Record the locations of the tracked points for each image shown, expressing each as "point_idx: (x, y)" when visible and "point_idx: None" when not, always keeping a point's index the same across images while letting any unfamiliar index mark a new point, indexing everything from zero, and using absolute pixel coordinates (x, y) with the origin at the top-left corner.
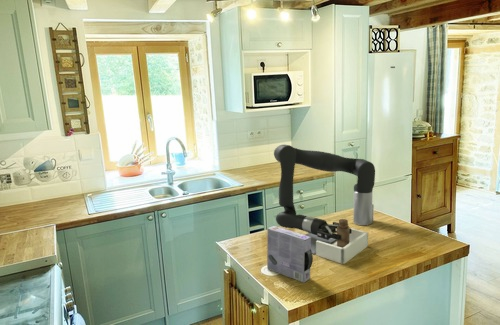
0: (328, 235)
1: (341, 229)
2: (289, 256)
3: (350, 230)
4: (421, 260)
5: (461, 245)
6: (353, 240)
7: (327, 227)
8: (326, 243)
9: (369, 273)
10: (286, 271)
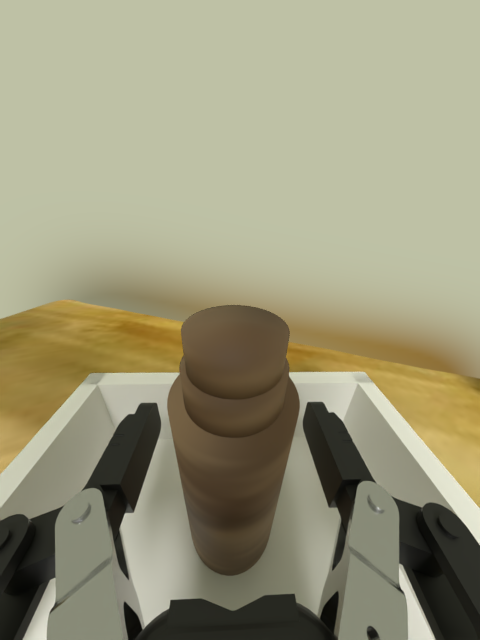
0: (435, 511)
1: (290, 382)
2: None
3: (157, 407)
4: (165, 319)
5: (65, 301)
6: None
7: None
8: (459, 505)
9: (300, 357)
10: None
